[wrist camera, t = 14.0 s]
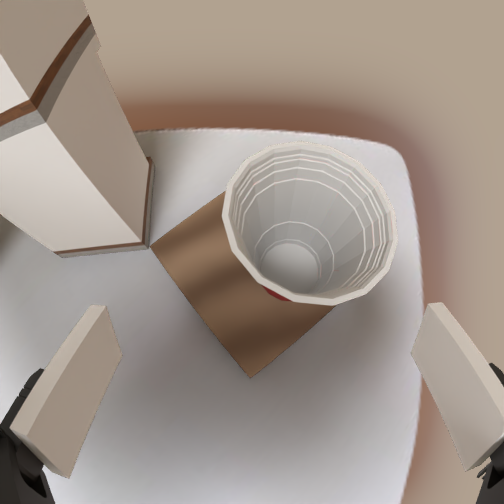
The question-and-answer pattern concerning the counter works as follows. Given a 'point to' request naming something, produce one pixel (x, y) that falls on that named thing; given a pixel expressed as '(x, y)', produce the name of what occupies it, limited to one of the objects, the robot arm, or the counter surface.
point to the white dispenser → (66, 136)
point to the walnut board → (231, 291)
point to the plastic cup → (310, 223)
